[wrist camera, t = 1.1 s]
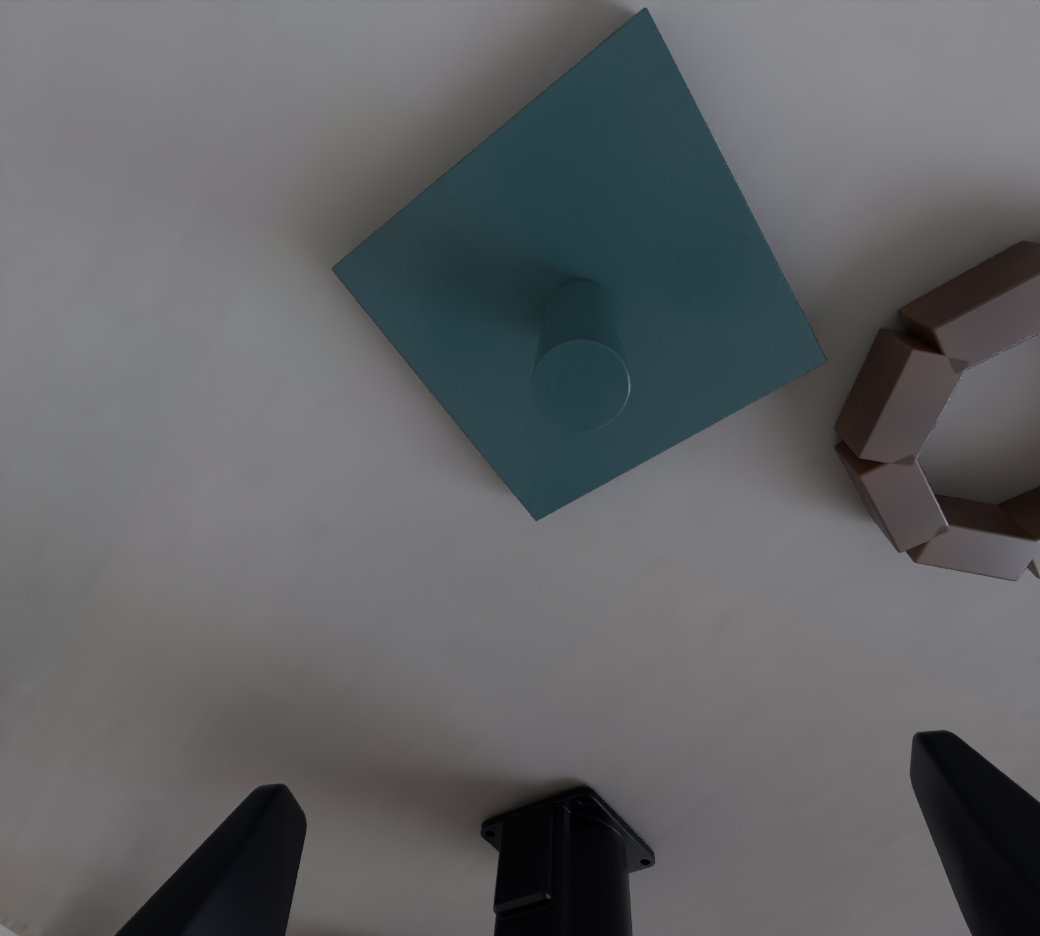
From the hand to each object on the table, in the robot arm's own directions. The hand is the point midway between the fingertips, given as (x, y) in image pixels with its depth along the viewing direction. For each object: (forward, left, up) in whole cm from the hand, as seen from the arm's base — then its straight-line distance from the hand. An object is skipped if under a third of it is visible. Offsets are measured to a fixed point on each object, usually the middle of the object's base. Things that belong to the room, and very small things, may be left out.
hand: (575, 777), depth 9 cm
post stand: (+3, -2, -13) cm, 13 cm away
